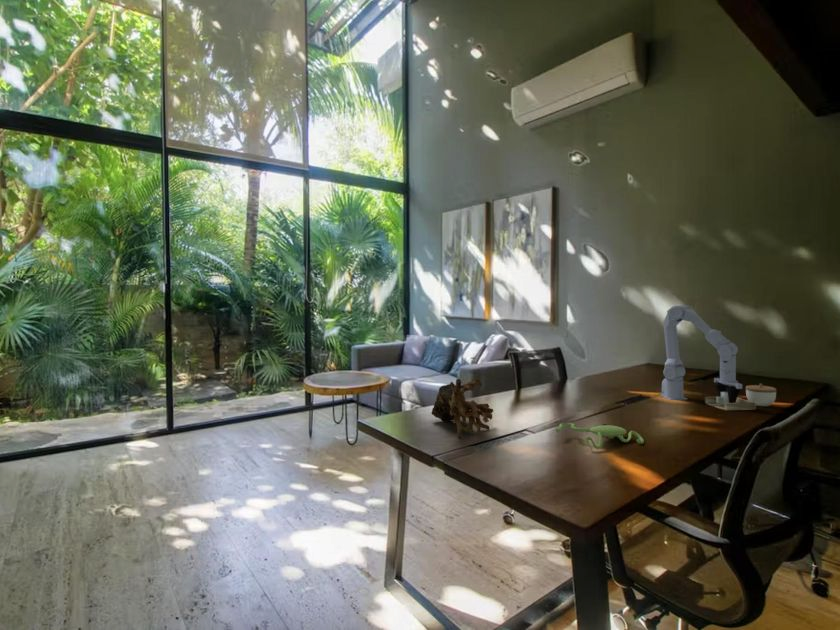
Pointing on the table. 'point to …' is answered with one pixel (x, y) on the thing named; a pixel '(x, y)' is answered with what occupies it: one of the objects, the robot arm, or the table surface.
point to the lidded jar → (761, 394)
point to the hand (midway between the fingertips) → (727, 402)
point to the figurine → (604, 433)
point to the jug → (723, 398)
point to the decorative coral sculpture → (461, 406)
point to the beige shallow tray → (732, 404)
